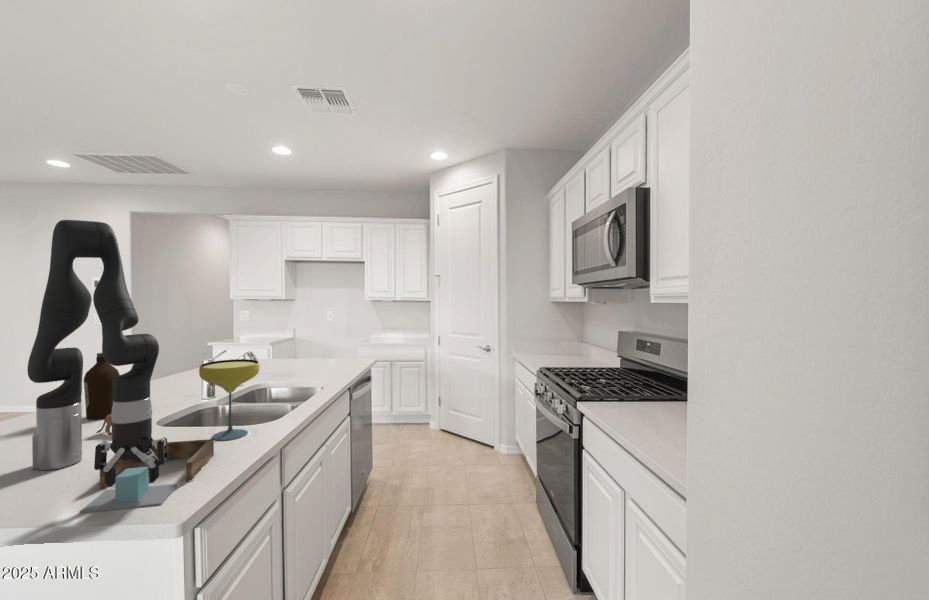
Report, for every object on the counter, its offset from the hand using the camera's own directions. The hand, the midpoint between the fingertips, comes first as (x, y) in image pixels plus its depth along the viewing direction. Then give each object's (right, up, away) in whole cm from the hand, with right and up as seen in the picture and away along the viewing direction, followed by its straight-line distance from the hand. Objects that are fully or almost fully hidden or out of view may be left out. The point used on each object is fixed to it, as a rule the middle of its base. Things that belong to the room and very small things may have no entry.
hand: (132, 483), depth 99 cm
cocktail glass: (-1, -3, +43) cm, 43 cm away
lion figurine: (-39, -2, +45) cm, 60 cm away
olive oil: (-62, -2, +61) cm, 87 cm away
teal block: (0, -3, 0) cm, 3 cm away
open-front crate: (-4, -3, +15) cm, 15 cm away
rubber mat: (0, -4, 0) cm, 4 cm away
